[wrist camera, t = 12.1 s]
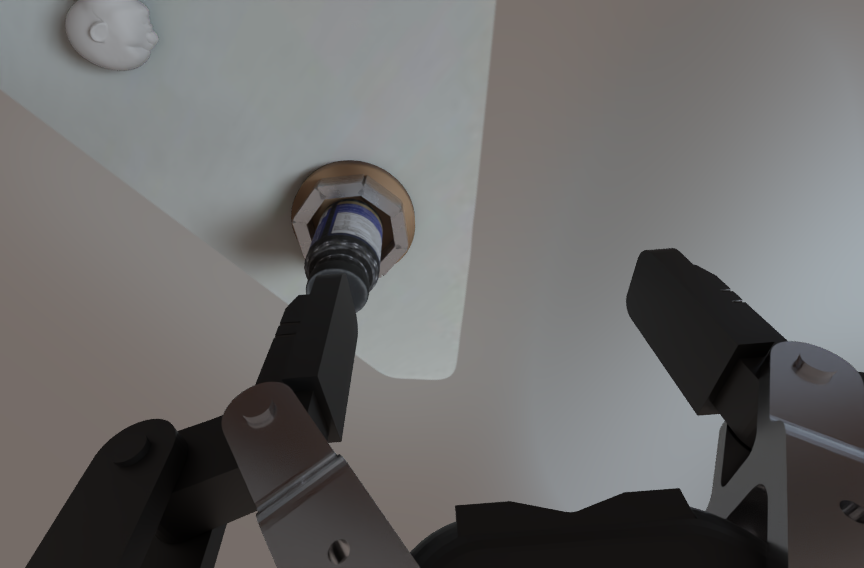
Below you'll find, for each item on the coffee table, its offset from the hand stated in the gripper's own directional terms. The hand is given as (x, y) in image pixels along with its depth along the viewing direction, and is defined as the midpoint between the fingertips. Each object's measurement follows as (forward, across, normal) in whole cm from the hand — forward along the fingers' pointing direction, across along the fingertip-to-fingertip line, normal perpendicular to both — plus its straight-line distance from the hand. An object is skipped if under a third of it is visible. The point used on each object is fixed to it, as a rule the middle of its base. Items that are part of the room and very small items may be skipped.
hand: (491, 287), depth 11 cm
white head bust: (+28, +22, -7) cm, 36 cm away
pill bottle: (+26, +9, +11) cm, 30 cm away
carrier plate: (+28, +9, +11) cm, 31 cm away
